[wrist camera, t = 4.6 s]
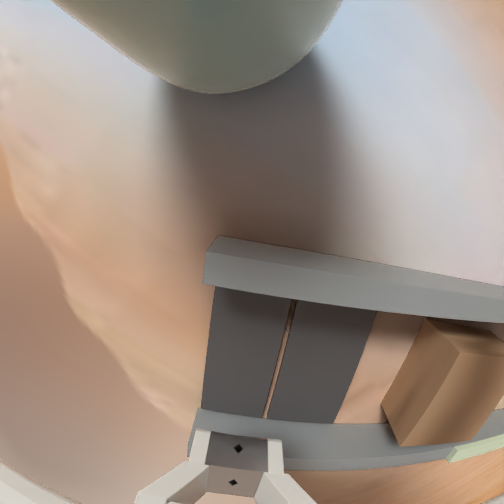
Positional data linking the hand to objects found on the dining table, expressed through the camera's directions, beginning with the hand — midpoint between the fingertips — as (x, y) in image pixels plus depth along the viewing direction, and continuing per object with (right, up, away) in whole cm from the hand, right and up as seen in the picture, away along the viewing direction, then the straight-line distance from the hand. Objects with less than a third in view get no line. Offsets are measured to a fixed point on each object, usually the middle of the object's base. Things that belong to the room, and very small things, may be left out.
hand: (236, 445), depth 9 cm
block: (+12, 0, +6) cm, 13 cm away
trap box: (+11, 0, +6) cm, 13 cm away
